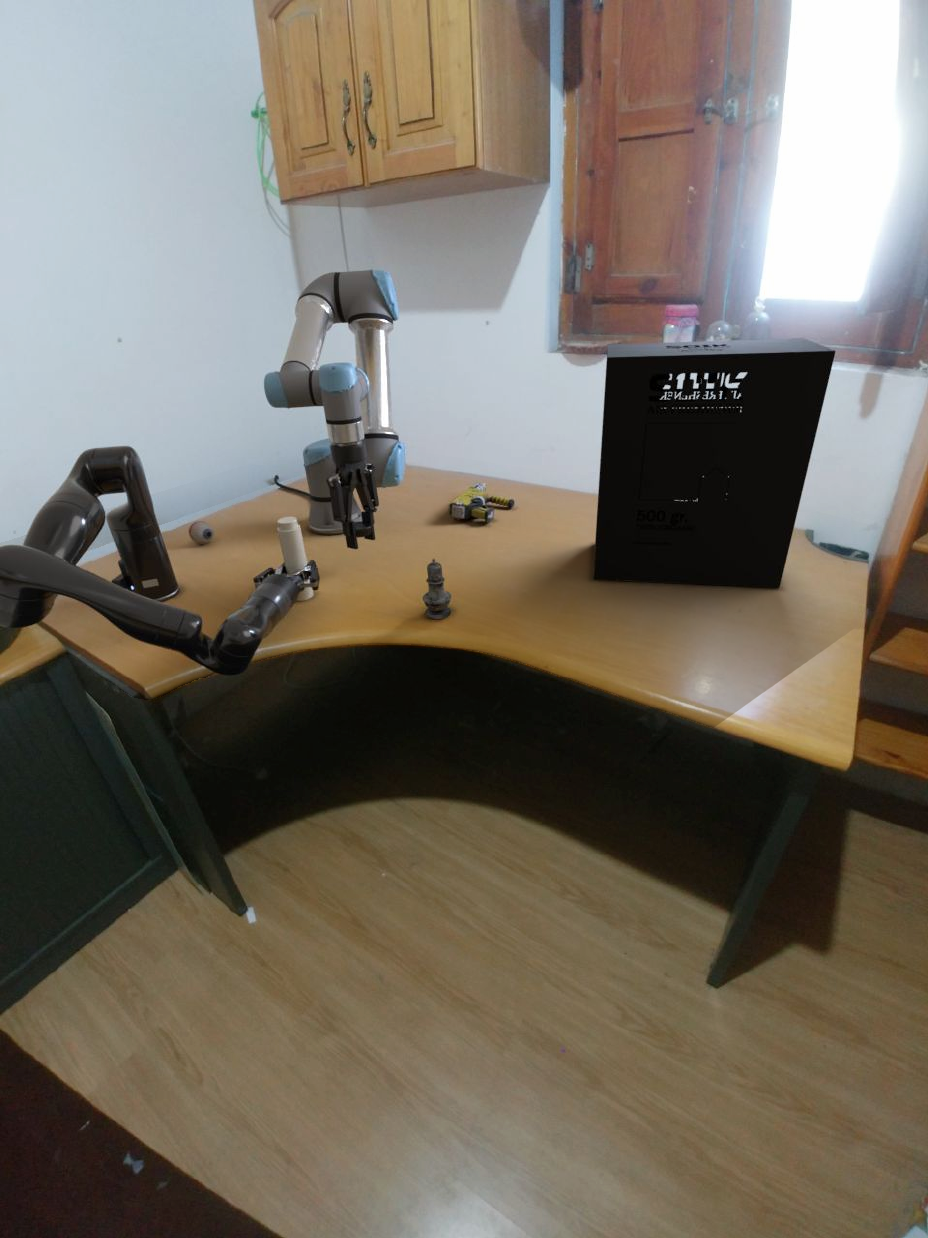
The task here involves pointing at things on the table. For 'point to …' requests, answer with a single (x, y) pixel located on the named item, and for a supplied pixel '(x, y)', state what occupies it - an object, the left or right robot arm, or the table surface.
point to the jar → (293, 550)
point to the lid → (363, 528)
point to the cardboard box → (706, 459)
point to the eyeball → (201, 532)
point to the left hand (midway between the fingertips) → (301, 563)
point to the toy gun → (476, 504)
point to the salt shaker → (436, 593)
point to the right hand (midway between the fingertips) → (361, 543)
